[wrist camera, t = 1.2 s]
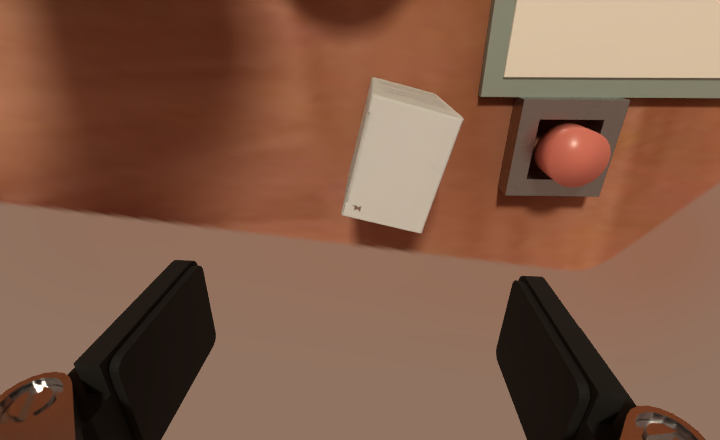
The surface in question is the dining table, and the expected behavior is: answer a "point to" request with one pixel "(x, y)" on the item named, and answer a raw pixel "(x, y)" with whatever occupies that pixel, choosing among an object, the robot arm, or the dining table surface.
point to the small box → (399, 155)
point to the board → (602, 49)
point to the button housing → (522, 135)
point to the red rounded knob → (572, 154)
